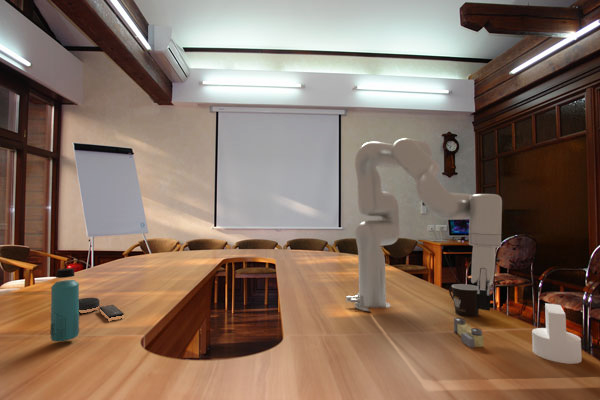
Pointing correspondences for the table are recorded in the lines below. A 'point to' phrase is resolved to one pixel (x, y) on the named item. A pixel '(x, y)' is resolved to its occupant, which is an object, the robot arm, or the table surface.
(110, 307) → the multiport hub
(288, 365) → the table surface
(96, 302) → the smart speaker
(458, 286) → the coffee mug
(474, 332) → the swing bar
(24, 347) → the table surface
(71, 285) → the beverage bottle
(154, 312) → the table surface
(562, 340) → the cylinder with rectangular tab
